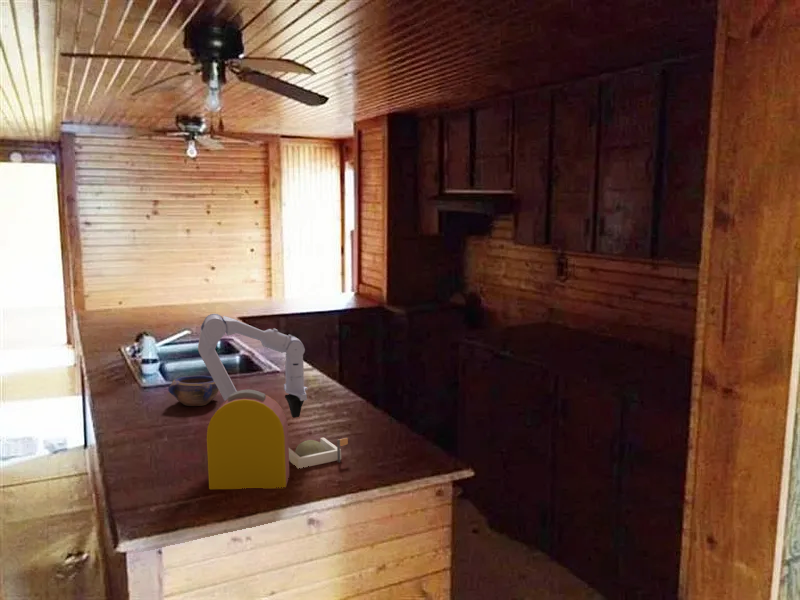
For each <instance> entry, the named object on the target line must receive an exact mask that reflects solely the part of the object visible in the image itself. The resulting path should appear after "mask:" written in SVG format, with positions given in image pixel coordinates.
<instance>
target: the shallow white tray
mask: <svg viewBox="0 0 800 600" xmlns="http://www.w3.org/2000/svg"><path fill="white" fill-rule="evenodd" d="M348 441H349V439H348V437H344V438H340V439H337V441H336V445H337V446H336V445H335V444H333V443H332V442H330V440H328V439H327V438H325V437H320V441H319V442H320V443H322V444H323V445H324V447H325V451H326V452H321V453H317V454H312V455H307V456H302V457H300V456H298V455H297V454H296V453H295V450H293V449H292V448H290V447H289V463H291V464H292V465H293V466H294V465H295V466H296V467H295V466H294V467H295V468H297V469H298V470H300V469H304V468H309V467H312V466H317V465H322V464H327V463H331V462H335V461H337V463H341V460H342V449H341V447H342V446H346V445H348V443H349V442H348ZM308 466H309V467H308ZM303 467H304V468H303ZM299 468H300V469H299Z"/></svg>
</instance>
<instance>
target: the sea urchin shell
mask: <svg viewBox="0 0 800 600" xmlns="http://www.w3.org/2000/svg"><path fill="white" fill-rule="evenodd" d="M294 452H295V453H296V454H297V455H298V456H300V457H302V456H307V455H312V454H317V453H321V452H326V451H325V447H324V445H323V444H322V443H320V441H317V440H314V439H308V440H307V439H306V440H304V441H302V442H300V443H299V444H298V445H297V446H296V448H295V450H294Z"/></svg>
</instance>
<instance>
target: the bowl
mask: <svg viewBox="0 0 800 600" xmlns="http://www.w3.org/2000/svg"><path fill="white" fill-rule="evenodd" d="M167 391H168V392H169V394H171V395H172V396H173V397H174V398H175V399H176V400H177V401H178V402H180V403H181V404H183V406H188V407H201V406H206V405H207V404H209V403H211V402H212V400H214V398H215V397H216V396H217V395H218V392H219V389H218V387H217V386H216V384H215V382H214V380H213V378H212V376H211V375H189V376H188V375H187V376H181V377H178V378H175V379H173V380H172V383H170V384H169V385H168V390H167Z"/></svg>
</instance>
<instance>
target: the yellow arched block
mask: <svg viewBox="0 0 800 600" xmlns="http://www.w3.org/2000/svg"><path fill="white" fill-rule="evenodd" d="M206 431H207V432H206V449H207V451H206V453H207V471H208V473H207V474H208V489H209V490H246V488H263V489H284V488H283V487H285V488H287V485H288V482H289V479H290V461H289V448H290V446H289V425H288V418H287V416H286V414H285V411H284V409H283V408H282V407H281V405H280V404H279V403H278V401H276V400H275V399H273V398H272V397H271V396H269V395H266V393H264V392H261V391H259V390H254V389H248V388H247V389H241V390H237V392H235V393H232V394H231V395H230V396H229V397H228V399H227V400H226V401H224V400H223V402H222V403H221V404H220V406H219V408H217V410H216V411H215V413H214V414H213V415H212V417H211V418H210V420H209V423H208V425H207V430H206ZM288 478H289V479H288ZM276 487H277V488H276ZM278 487H279V488H278ZM281 487H282V488H281ZM242 488H243V489H242ZM244 488H245V489H244Z"/></svg>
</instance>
